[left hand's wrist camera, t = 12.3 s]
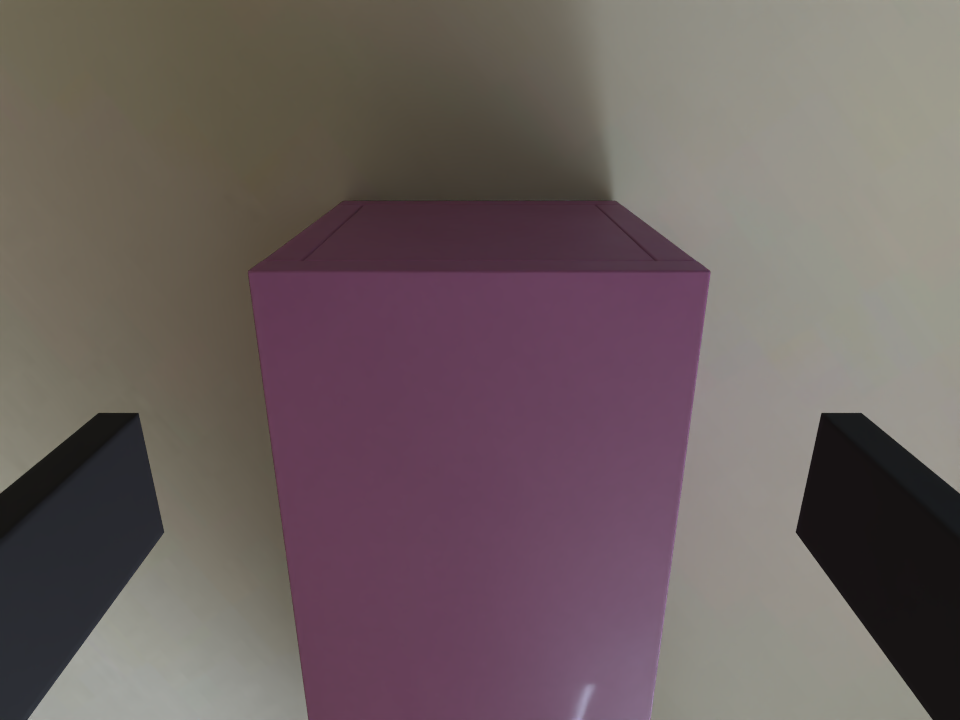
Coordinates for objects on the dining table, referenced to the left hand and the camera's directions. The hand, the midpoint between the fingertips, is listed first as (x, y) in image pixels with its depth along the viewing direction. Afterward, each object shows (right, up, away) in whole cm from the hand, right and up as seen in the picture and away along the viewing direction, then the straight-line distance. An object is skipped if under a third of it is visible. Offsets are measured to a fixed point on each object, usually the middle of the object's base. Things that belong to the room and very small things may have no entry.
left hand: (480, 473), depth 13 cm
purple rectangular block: (0, -1, +18) cm, 18 cm away
